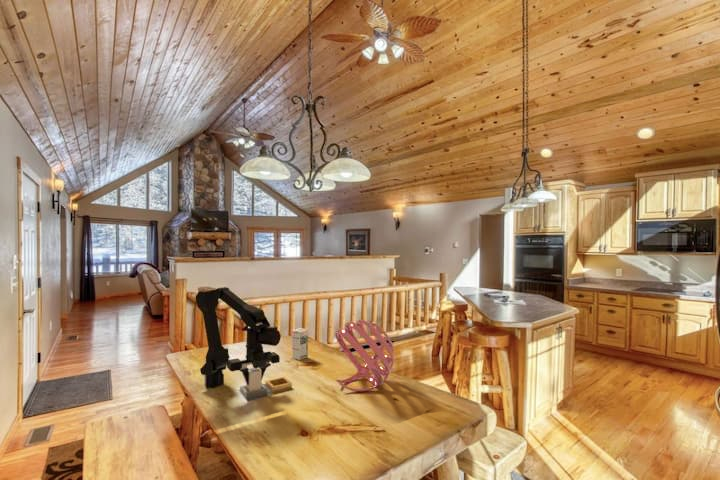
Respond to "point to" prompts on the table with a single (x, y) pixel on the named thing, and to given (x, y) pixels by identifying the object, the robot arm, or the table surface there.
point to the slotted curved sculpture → (370, 361)
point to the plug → (254, 379)
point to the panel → (268, 389)
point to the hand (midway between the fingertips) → (253, 383)
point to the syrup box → (299, 343)
